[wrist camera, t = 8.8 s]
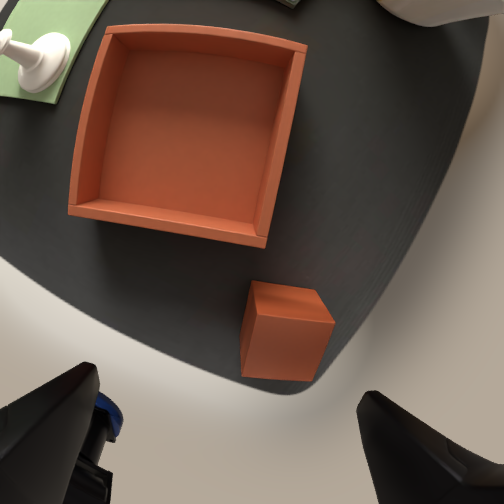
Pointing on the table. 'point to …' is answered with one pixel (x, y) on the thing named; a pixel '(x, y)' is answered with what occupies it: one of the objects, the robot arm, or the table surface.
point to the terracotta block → (283, 332)
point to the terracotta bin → (186, 130)
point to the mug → (441, 10)
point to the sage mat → (39, 24)
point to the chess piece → (37, 59)
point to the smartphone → (289, 3)
